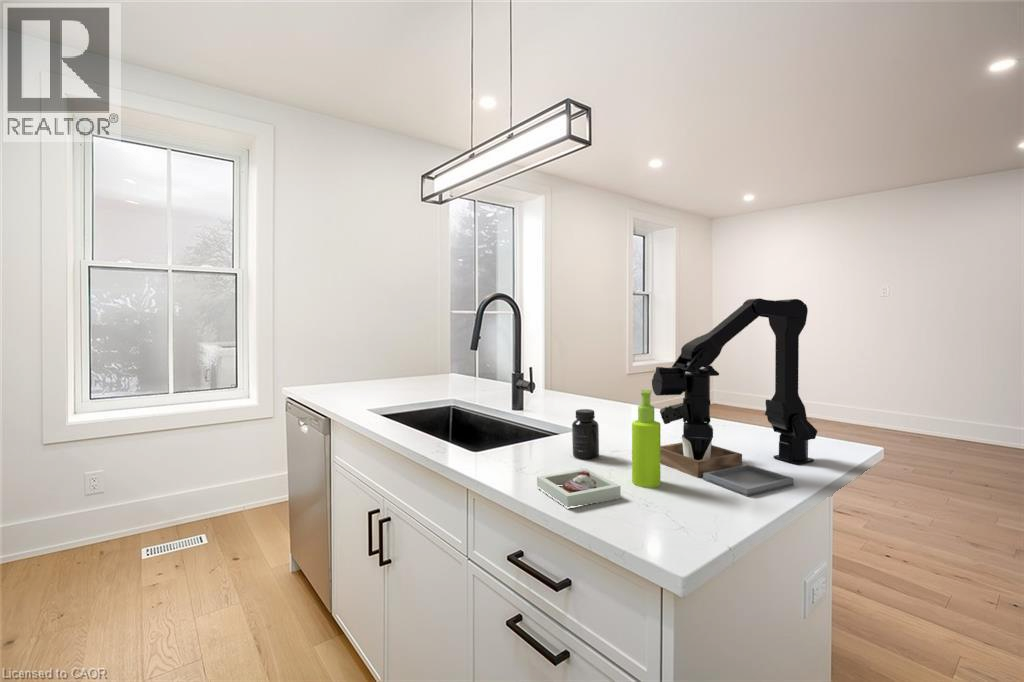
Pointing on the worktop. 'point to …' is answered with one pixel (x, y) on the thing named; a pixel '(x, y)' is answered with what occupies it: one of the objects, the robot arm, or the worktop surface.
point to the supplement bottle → (585, 435)
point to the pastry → (580, 483)
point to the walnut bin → (717, 461)
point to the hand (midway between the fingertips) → (696, 458)
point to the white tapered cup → (688, 449)
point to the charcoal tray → (748, 479)
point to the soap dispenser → (646, 445)
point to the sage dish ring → (602, 493)
